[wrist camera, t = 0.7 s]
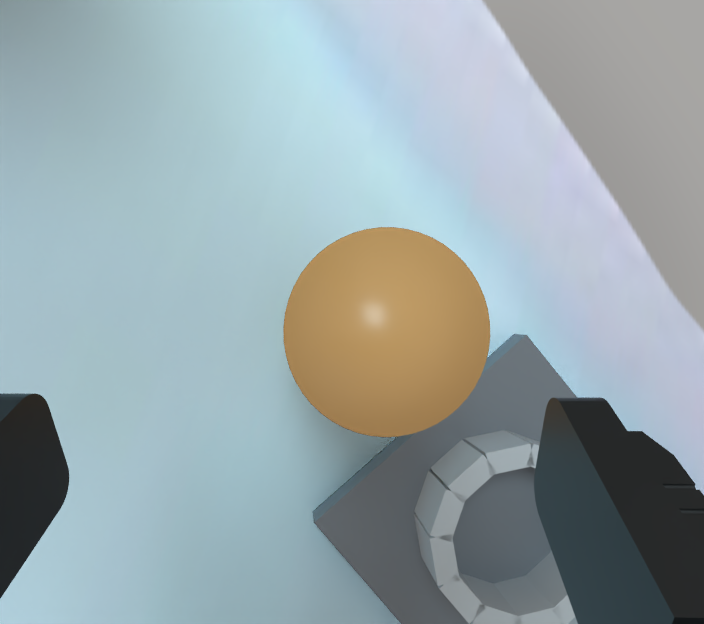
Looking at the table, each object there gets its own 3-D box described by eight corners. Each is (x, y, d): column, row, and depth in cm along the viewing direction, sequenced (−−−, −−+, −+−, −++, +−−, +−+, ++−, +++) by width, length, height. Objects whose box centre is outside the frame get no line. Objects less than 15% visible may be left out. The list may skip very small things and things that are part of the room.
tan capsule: (282, 281, 28) (274, 234, 13) (379, 273, 28) (481, 220, 13) (290, 378, 27) (293, 448, 13) (387, 369, 28) (499, 424, 13)
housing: (312, 511, 27) (319, 570, 21) (514, 334, 29) (579, 338, 22) (554, 791, 29) (631, 928, 22) (736, 608, 30) (858, 687, 24)
